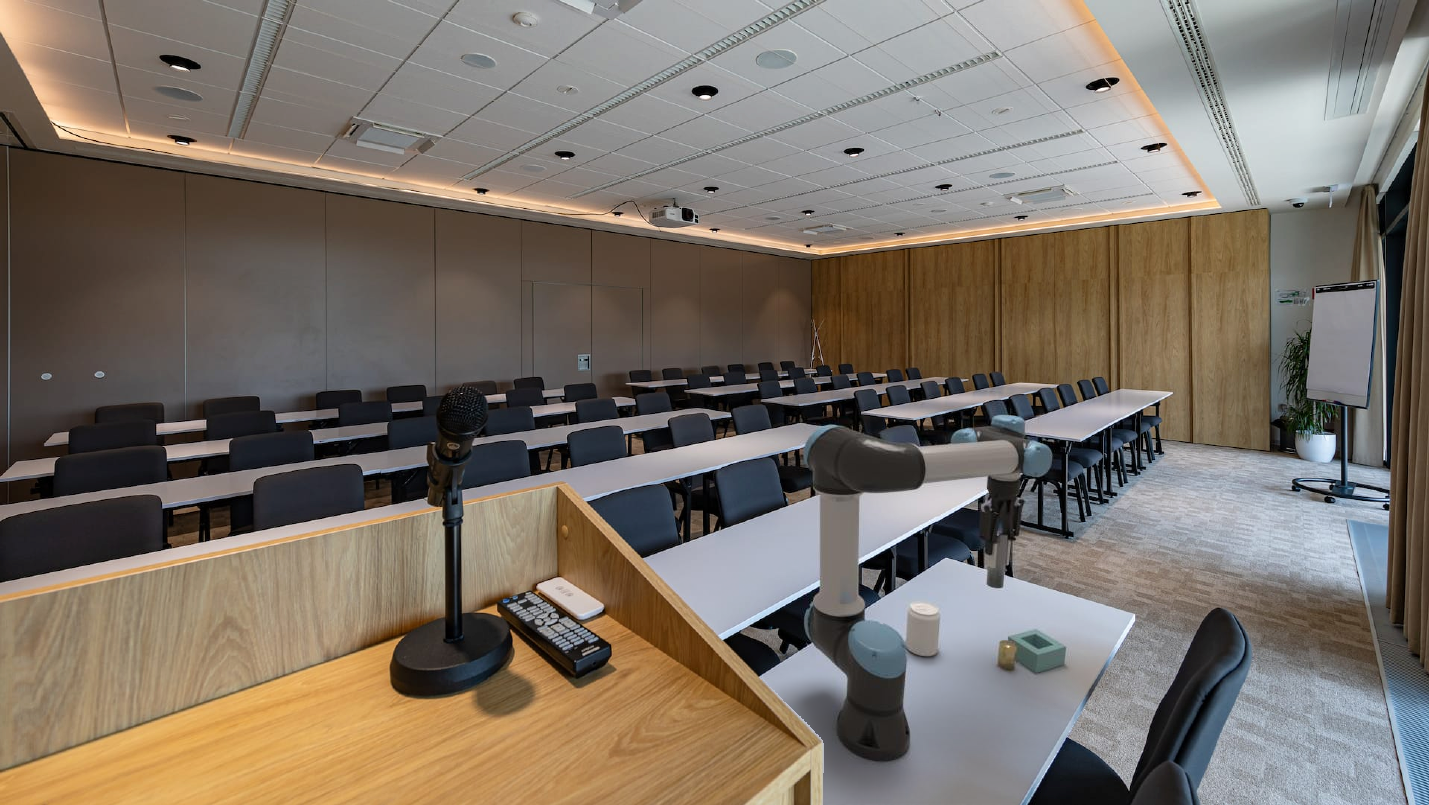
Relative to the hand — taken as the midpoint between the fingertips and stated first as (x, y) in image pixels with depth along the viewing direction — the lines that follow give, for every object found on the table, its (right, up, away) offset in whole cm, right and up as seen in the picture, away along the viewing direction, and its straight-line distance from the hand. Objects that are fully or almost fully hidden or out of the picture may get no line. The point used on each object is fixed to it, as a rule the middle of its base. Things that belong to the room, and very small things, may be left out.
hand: (996, 564), depth 156 cm
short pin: (+2, -26, -2) cm, 26 cm away
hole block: (+11, -25, +1) cm, 27 cm away
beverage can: (-18, -24, +6) cm, 31 cm away
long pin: (0, -6, +1) cm, 6 cm away
